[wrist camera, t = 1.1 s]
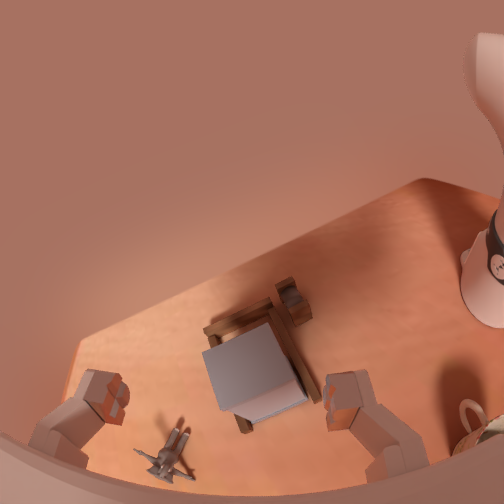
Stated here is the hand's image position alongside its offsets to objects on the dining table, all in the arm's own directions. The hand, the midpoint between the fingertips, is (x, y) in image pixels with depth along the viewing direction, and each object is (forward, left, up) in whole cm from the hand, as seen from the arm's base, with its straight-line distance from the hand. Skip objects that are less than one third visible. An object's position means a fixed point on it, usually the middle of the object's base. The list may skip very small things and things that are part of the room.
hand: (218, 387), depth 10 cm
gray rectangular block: (+2, -9, -31) cm, 32 cm away
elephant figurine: (+20, -4, -31) cm, 37 cm away
